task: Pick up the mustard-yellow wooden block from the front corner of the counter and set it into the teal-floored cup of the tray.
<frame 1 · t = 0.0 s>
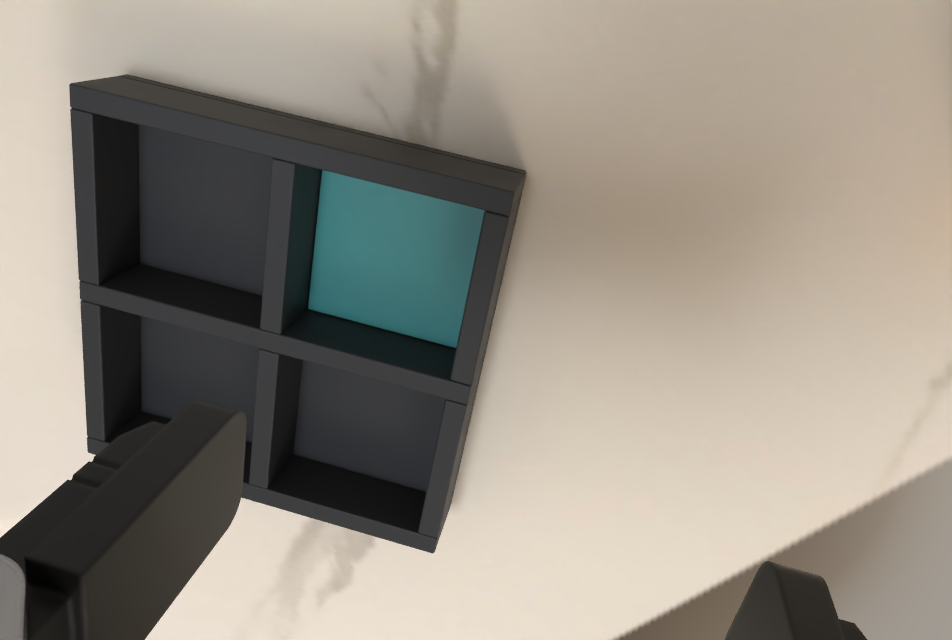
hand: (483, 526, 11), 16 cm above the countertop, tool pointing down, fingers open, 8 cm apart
tray: (302, 309, 28), on the countertop
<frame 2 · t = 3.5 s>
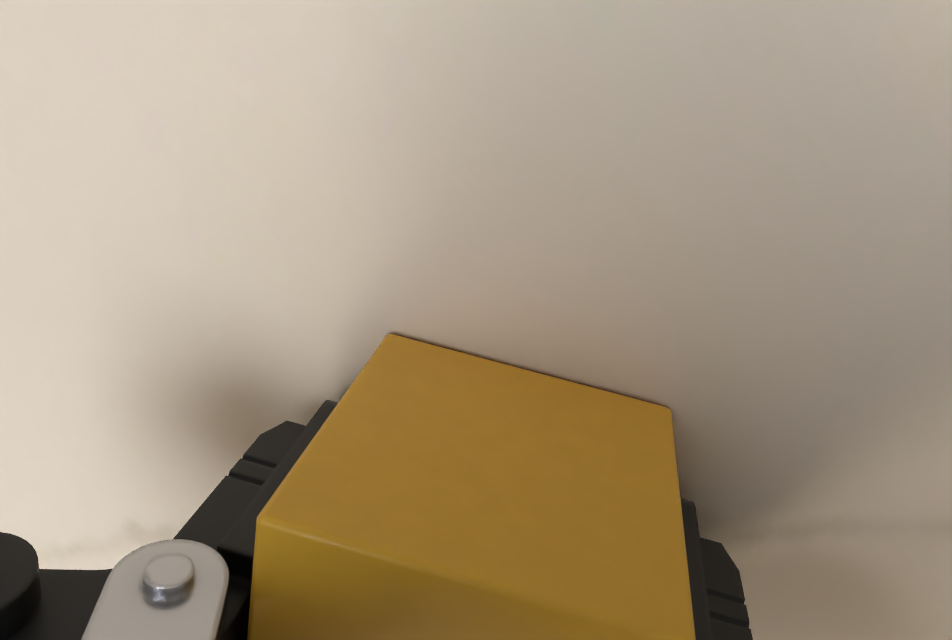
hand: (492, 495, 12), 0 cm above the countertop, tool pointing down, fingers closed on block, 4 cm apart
block: (497, 483, 12), on the countertop, touching gripper
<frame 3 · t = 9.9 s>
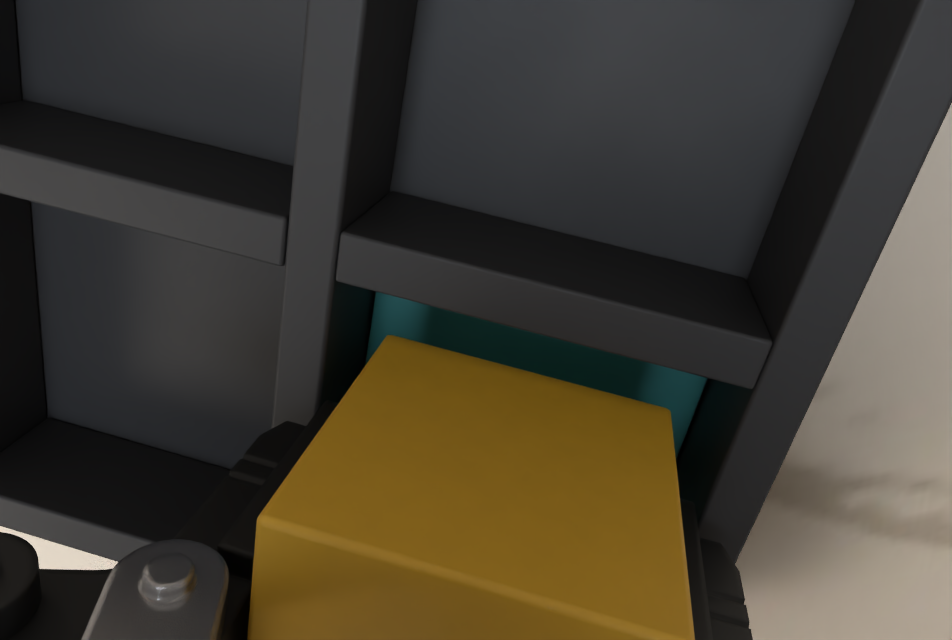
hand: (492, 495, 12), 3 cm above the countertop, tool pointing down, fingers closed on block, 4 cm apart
block: (497, 483, 12), point 3 cm above the countertop, touching gripper
tray: (374, 198, 13), on the countertop
when the fingers open (4 cm above the countertop, at t = 15.6 s): block drops 3 cm, resting on tray.
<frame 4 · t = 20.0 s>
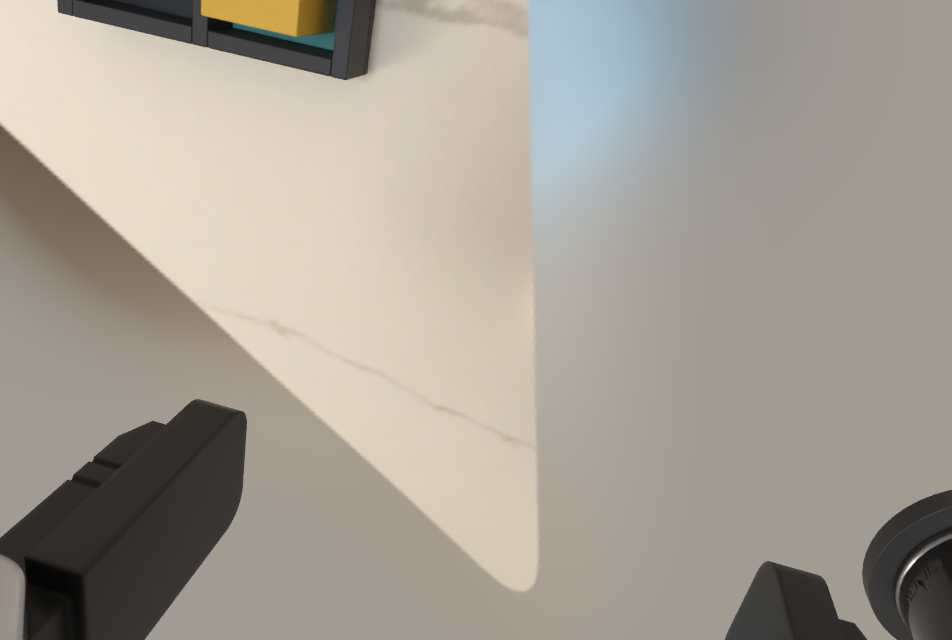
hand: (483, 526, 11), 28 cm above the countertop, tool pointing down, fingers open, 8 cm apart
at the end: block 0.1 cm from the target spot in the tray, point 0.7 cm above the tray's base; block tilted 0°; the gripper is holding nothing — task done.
